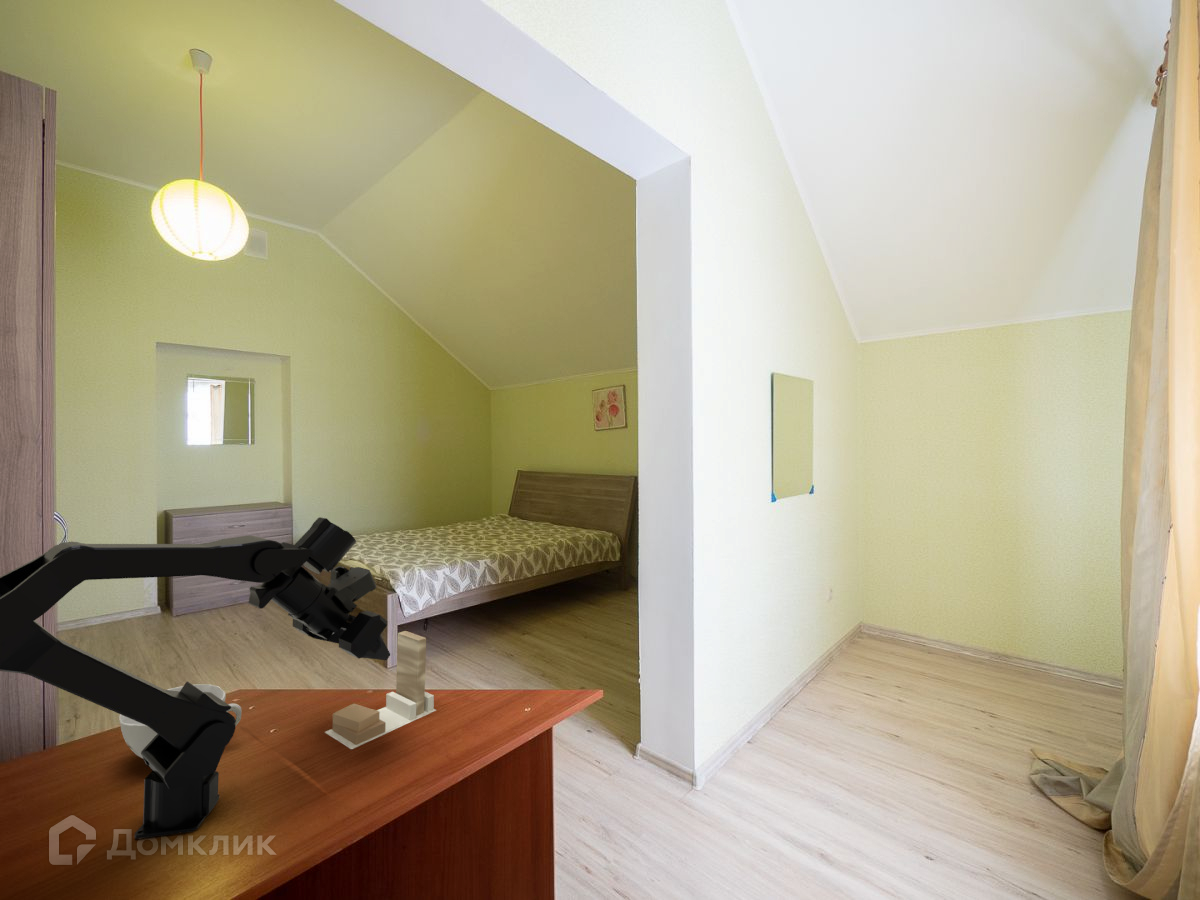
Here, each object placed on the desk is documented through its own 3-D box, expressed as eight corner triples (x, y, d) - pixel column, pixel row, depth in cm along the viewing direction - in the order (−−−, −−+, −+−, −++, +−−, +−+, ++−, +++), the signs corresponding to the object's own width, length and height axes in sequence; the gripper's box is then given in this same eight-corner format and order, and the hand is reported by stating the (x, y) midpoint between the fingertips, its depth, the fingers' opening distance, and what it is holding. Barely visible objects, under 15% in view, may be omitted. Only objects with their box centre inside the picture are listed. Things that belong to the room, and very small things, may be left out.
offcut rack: (351, 755, 80) (352, 729, 80) (324, 738, 85) (325, 713, 85) (436, 715, 93) (436, 693, 93) (408, 702, 98) (409, 680, 98)
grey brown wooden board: (416, 715, 91) (418, 640, 91) (395, 705, 94) (397, 633, 94) (424, 712, 92) (426, 638, 92) (403, 702, 96) (405, 630, 96)
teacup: (95, 786, 72) (97, 727, 72) (145, 738, 84) (147, 687, 84) (223, 770, 76) (225, 715, 76) (253, 726, 88) (255, 678, 88)
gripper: (377, 562, 78) (437, 619, 87) (314, 546, 88) (373, 598, 97) (321, 629, 71) (392, 683, 80) (261, 603, 82) (329, 653, 91)
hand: (371, 650), depth 87 cm, fingers open, 9 cm apart
